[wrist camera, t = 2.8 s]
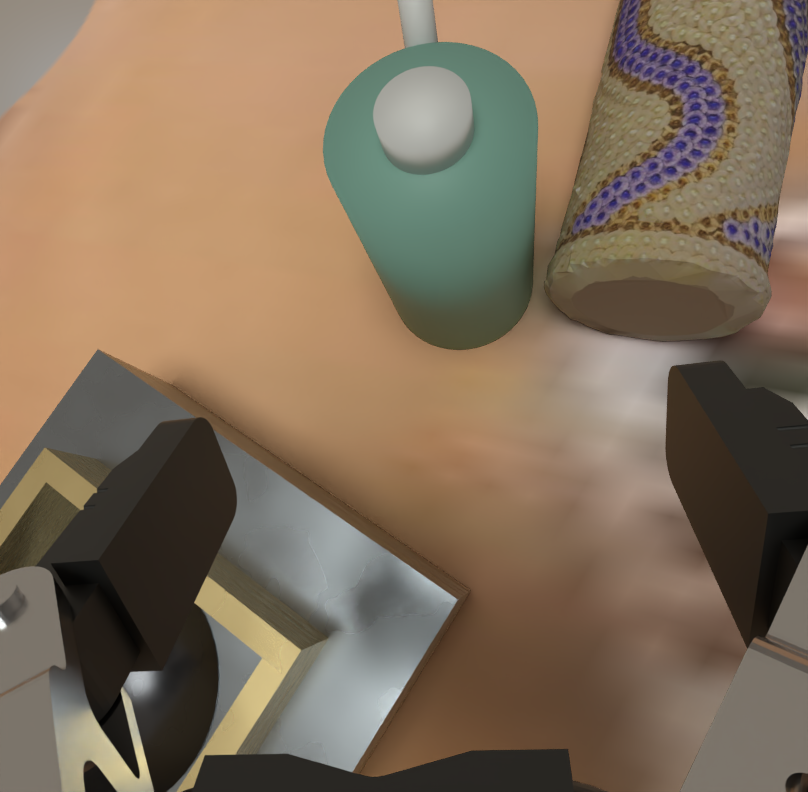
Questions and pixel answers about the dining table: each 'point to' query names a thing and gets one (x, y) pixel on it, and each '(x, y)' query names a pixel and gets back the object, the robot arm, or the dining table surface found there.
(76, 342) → the dining table surface
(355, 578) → the grey metal block
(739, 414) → the robot arm
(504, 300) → the oil can
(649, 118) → the decorative bottle
